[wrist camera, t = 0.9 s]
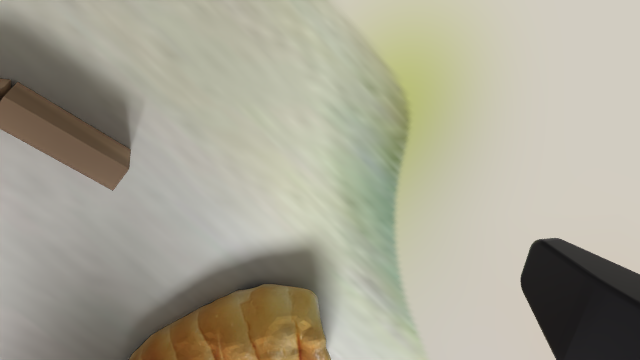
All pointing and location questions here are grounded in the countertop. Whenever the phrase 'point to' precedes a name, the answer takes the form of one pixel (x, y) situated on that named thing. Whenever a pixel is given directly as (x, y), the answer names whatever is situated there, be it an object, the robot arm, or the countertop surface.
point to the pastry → (245, 329)
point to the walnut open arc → (61, 135)
